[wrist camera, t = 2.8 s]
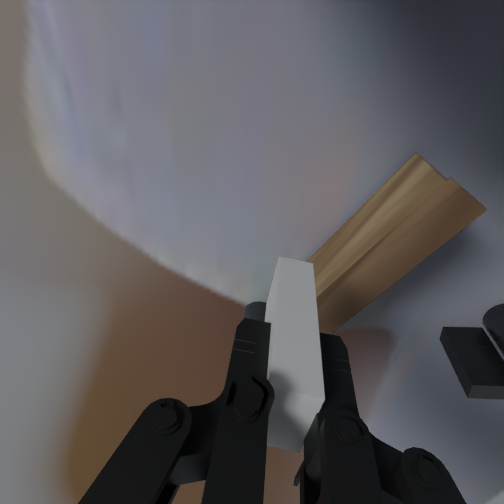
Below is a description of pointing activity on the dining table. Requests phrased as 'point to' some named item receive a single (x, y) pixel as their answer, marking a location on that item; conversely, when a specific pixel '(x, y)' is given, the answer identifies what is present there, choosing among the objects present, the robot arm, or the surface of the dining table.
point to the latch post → (478, 355)
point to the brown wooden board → (388, 239)
